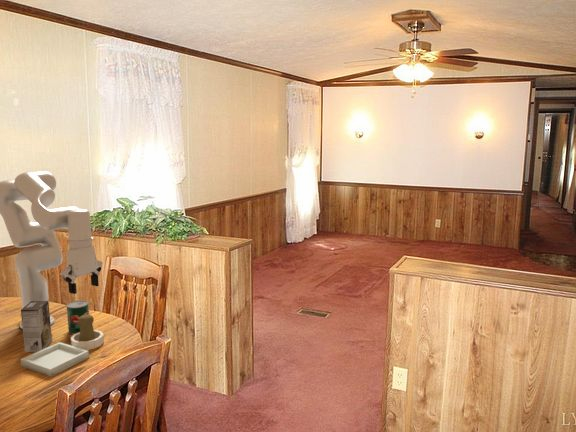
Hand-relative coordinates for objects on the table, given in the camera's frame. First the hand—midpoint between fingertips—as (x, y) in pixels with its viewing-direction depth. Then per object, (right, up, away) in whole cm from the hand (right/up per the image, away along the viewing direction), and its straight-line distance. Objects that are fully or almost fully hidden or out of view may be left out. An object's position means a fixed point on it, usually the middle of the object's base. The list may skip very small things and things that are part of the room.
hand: (84, 289), depth 175 cm
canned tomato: (-9, -19, +16) cm, 26 cm away
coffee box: (-17, -21, +2) cm, 28 cm away
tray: (-6, -23, -10) cm, 26 cm away
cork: (0, -21, +4) cm, 21 cm away
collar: (0, -21, +4) cm, 21 cm away
